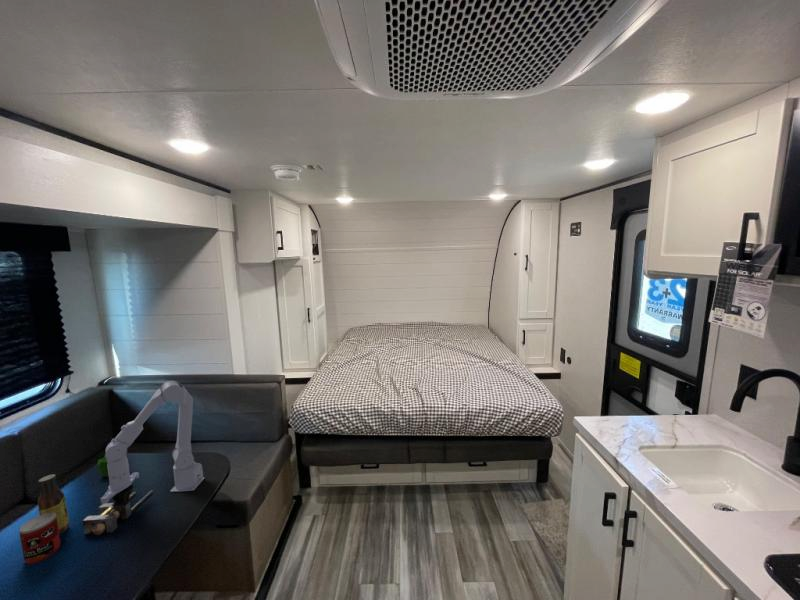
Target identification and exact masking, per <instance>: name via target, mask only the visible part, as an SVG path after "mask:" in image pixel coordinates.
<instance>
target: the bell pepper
mask: <svg viewBox="0 0 800 600" xmlns="http://www.w3.org/2000/svg"><path fill="white" fill-rule="evenodd" d="M107 465H108V463H107V459H106V456H105V455H104V457H102V458H100V459H98V460H97V471H98V472H99V474H100V475H101V476H102V477H105V478H106V477H109V475H108V468H107Z"/></svg>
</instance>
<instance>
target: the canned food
mask: <svg viewBox="0 0 800 600" xmlns="http://www.w3.org/2000/svg"><path fill="white" fill-rule="evenodd" d="M19 538H20V543H21V544H20V545H21V550H22V556H23V561H24V563H25V564H26V565H33V564H37V563H40V562H42V561H44V560H46V559H48V558H49V557H51V556H52V555H53V554H55V553H56V552H58V550H59V549H60V546H61V537H60V534H59V530H58V523H57V517H56V514H55V513H52V512H51V513H46V514H42V515H37V516H35V517H34V518H32V519H30V520H28V521H26V522H25V523H24V524H23V525H21V526H20V527H19Z"/></svg>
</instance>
